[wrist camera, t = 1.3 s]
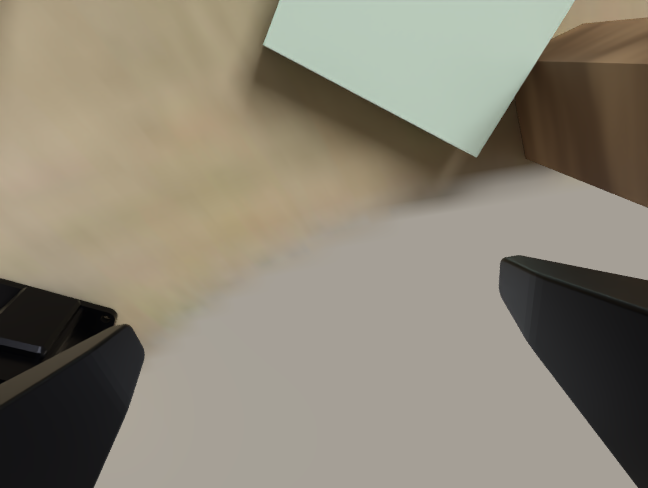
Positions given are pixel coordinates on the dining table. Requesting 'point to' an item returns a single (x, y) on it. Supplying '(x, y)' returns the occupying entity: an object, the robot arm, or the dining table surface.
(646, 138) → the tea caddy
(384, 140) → the dining table surface
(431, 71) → the plate
